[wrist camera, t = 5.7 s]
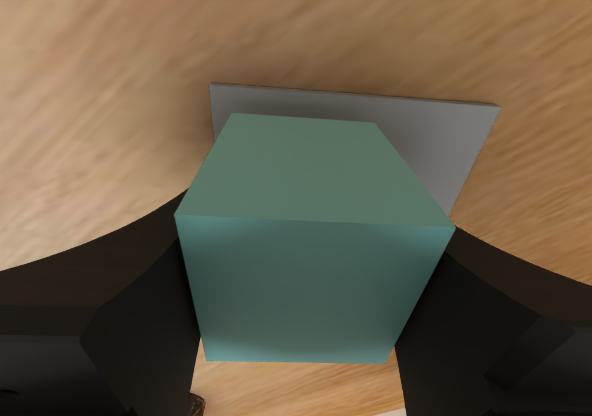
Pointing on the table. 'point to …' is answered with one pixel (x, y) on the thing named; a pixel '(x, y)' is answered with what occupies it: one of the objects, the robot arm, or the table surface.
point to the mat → (381, 126)
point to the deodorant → (195, 406)
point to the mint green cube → (306, 241)
